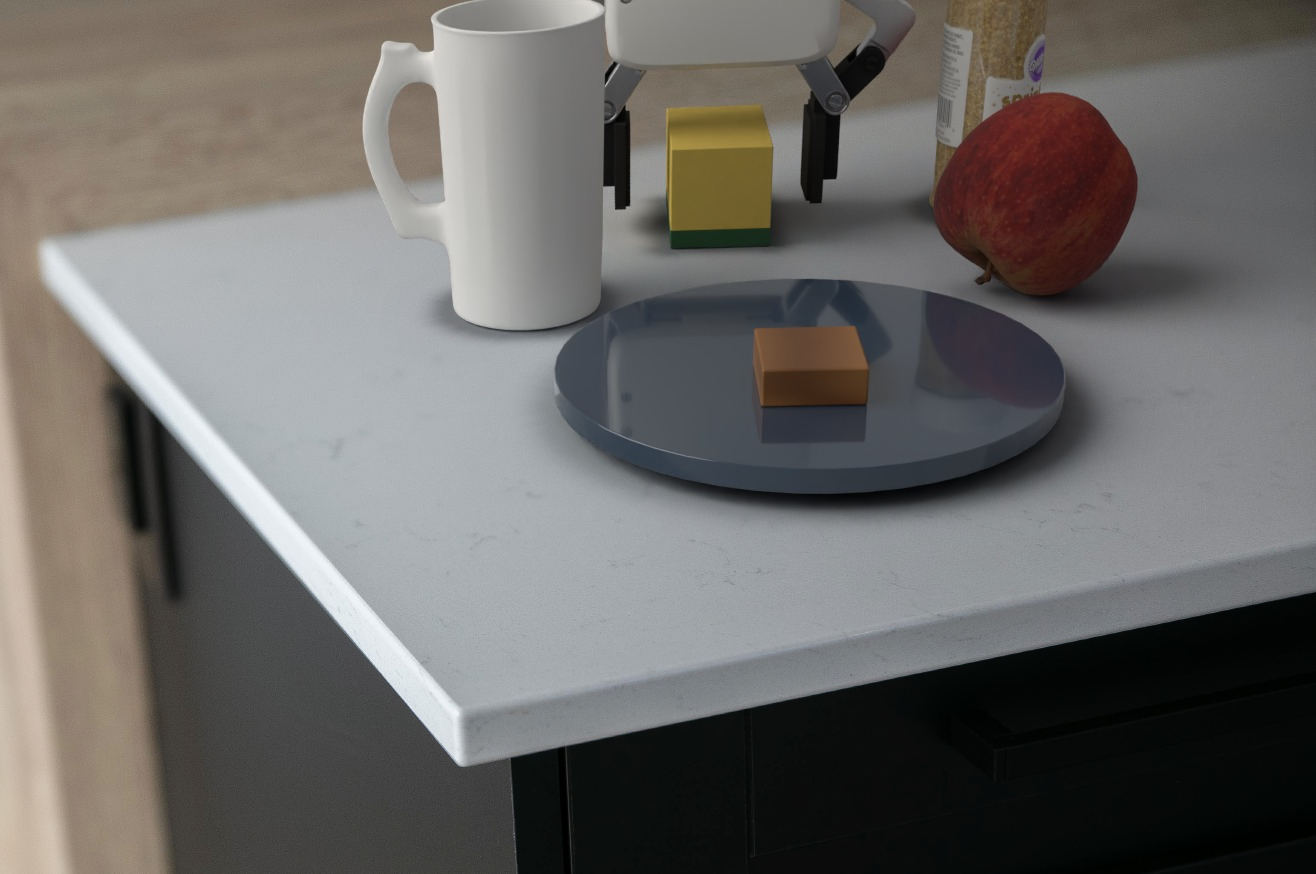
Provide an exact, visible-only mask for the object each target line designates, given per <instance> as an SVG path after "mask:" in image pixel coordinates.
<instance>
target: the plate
mask: <svg viewBox="0 0 1316 874" xmlns="http://www.w3.org/2000/svg"><path fill="white" fill-rule="evenodd" d="M833 326H855V327H856V328H857V331H858V335H859V338H860V341H861V344H862V347H863V350H864V353H865V356H866V359H867V362H868V365H869V368H870V373H869V388H868V402H867V404H866V405H828V406H775V407H763V406H761V403H760V398H759V392H758V387H757V381H756V376H755V370H754V365H753V348H754V330H755V329H756V328H791V327H833ZM553 388H554V389H553V390H554V391H553V392H554V399H555V404H556V406H557V408H558V411H559V412H560V415H561V417H562V418H563V420H565V421H566V423H567V424H568V426H569V427H570V428H571V429H572V430H574V431H575V433H577V434H578V435H579V436H580V437H582V438H583V439H584V440H585V441H587V442H589V443H591V444H592V445H593V446H595V447H596V448H598V449H600V450H602V451H604V452H605V453H607V454H610V455H612V456H614V457H616V458H617V459H619V460H620V459H621V460H622V461H624V462H627V463H629V464H632V465H635V466H638V467H640V468H644V469H646V470H649V471H653V472H655V473H659V474H664V475H667V476H670V477H674V478H678V479H681V480H685V481H691V482H696V483H700V484H706V485H711V486H716V487H723V488H731V489H739V490H745V491H754V492H767V493H782V494H815V495H816V494H817V495H818V494H820V495H830V494H833V495H834V494H855V493H857V494H858V493H870V492H871V493H872V492H880V491H881V492H882V491H891V490H901V489H906V488H912V487H913V488H914V487H918V486H925V485H931V484H936V483H940V482H945V481H948V480H952V479H953V480H954V479H956V478H961V477H965V476H968V475H971V474H973V473H977V472H980V471H984V470H985V469H989V468H992V467H994V466H997V465H999V464H1002V463H1003V462H1006V461H1008V460H1011V459H1012V458H1015V457H1017V456H1018V455H1020V454H1022V453H1023V452H1025V451H1026V450H1028V449H1029V448H1032V447H1033V446H1035V445H1036V444H1037V443H1038V442H1039V441H1040V440H1041V439H1043V438H1044V437H1045V436H1046V435H1047V434H1048V433H1049V432H1050V431H1051V430H1052V428H1053V427H1054V425H1055V424H1056V423H1057V421H1058V420H1059V418H1060V415H1061V412H1062V409H1063V406H1064V400H1065V393H1066V392H1065V391H1066V370H1065V367H1064V365H1063V362H1062V359H1061V357H1060V356H1059V354H1058V352H1056V350H1055V348H1054V347H1053V346H1052V345H1051V344H1050V343H1049V342H1048V341H1046V339H1044V338H1043V337H1042V336H1041V335H1040V334H1039V333H1037V332H1036V331H1034V330H1032V329H1031V328H1030V327H1027V325H1025V324H1023V323H1022V322H1019V321H1017V320H1016V319H1013V317H1012V318H1011V317H1009V316H1007V315H1005V314H1003V313H1001V312H998V311H996V310H994V309H991V308H988V307H986V306H984V305H981V304H978V303H975V302H971V301H968V300H964V299H961V298H958V297H956V296H950V295H947V294H942V293H937V292H933V291H930V290H929V291H928V290H924V289H919V288H913V287H908V286H902V285H895V284H889V283H880V282H879V283H878V282H873V281H861V280H849V279H833V278H832V279H831V278H829V279H828V278H771V279H752V280H741V281H731V282H722V283H714V284H709V285H708V284H707V285H702V286H696V287H695V286H694V287H690V288H685V289H680V290H675V291H670V292H666V293H662V294H658V295H654V296H651V297H647V298H644V299H641V300H637V301H635V302H631V303H628V304H626V305H623V306H620V307H619V308H616V309H613V310H612V311H609V312H607V313H604V314H603V315H601V316H599V317H598V318H595V319H594V320H592V321H590V322H589V323H587V324H586V325H584V326H583V327H581V328H580V329H579V330H577V331H576V332H574V333H573V334H572V335H571V336H570V338H569V339H568V340H567V341H566V342H565V343H564V344H563V345H562V347H561V348H560V350H559V352H558V354H557V355H556V358H555V362H554V367H553Z"/></svg>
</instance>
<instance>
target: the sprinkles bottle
mask: <svg viewBox="0 0 1316 874" xmlns="http://www.w3.org/2000/svg"><path fill="white" fill-rule="evenodd" d="M1048 6H1049V0H947V8H946V14H945V15H946V17H945V20H944V22H943V35H942V47H941V61H940V72H939V73H940V74H939V86H938V95H937V96H938V97H937V109H936V121H935V135H934V136H935V138H936V146H935V147H936V148H935V163H934V171H933V174H934V175H933V183H932V184H933V185H932V189H931V191H930V194H929V197H928V201H929V205H930V207H932V208H933V205H934V196H935V191H936V187H937V184H938V182H939V179H940V177H941V175H942V173H943V171H944V169H945V168H946V166H947V164H948V163H949V161H950V159H951V158H952V156H953V154H954V153H955V151H956V149H957V148H958V146H959V145H960V144H961V143H962V141H963V140H964V139H965V138H966V137H967V135H968V134H969V133H970V132H972V131H973V130H974V129H975V128H976V127H977V126H978V125H979V124H980V123H982V122H983V121H984V120H985V119H987V118H988V117H990V116H991V115H992V114H994V113H996V112H997V111H999V110H1000V109H1002V108H1004V107H1005V106H1007V105H1009V104H1011V103H1013V102H1015V101H1018V100H1021V99H1023V98H1026V97H1029V96H1032V95H1036V94H1041V88H1042V79H1043V68H1044V59H1045V49H1046V25H1047V15H1048Z"/></svg>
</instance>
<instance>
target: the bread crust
mask: <svg viewBox="0 0 1316 874" xmlns="http://www.w3.org/2000/svg"><path fill="white" fill-rule="evenodd" d="M753 365H754V370H755V376H756V381H757V387H758V392H759V398H760V403H761V406H763V407H775V406H828V405H866V404H867V402H868V388H869V373H870V368H869V365H868V362H867V359H866V356H865V353H864V350H863V347H862V344H861V341H860V338H859V335H858V331H857V328H856V327H855V326H833V327H791V328H756V329H755V330H754V348H753Z"/></svg>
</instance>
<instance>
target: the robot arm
mask: <svg viewBox="0 0 1316 874" xmlns="http://www.w3.org/2000/svg"><path fill="white" fill-rule="evenodd" d="M592 1H595V2H598V3H600V4H601V5H603V6H604V7H605V10H606V12H605V14H604V33H605V36H606V46H607V50H608V55H609V57H610V58H611V59H612V60H611V61H610V63H609V64H608V66H607V67H606V68H605V91H604V158H603V188H606V187H607V188H609V187H614V210H615V211H617V210H618V211H619V210H620V211H623V210H627V207H631V111H630V110H627V105H626V104H627V102H628V101H629V99H630V98H631V96H632V94H633V93H634V92H635V90H636V89H637V87H638V85H639V84H640V82H641V80H642V79H643V77H644V76H645V74H646V73H647V72H649V71H651V72H652V71H654V72H655V71H657V72H658V71H659V72H660V71H662V72H663V71H690V70H691V71H692V70H716V69H717V70H721V69H741V68H742V69H743V68H744V69H745V68H746V69H747V68H766V67H767V68H769V67H784V66H786V67H787V66H795V67H796V68H797V70H798V71H799V73H800V75H801V76H802V78H803V79H804V81H805V83H806V84H807V85H808V87H809V89H810V91H809V93H810V94H809V98H808V99H807V103H804V104H803V111H802V112H803V115H802V131H801V132H802V133H801V134H802V135H801V153H800V155H801V156H800V175H799V176H800V177H799V180H800V181H799V182H800V188H801V191H802V194H803V198H804V201H805V202H809V205H816V204H817V205H819V204H821V205H822V204H823V195H824V181H827V180H828V181H829V180H830V181H831V180H837V178H838V170H839V169H838V168H839V154H840V153H839V151H840V133H841V119H842V118H841V117H842V116H841V115H842V114H844V113H845V112H846V111H847V110H848V108H849V107H850V103H851V102H852V101H853V100H854V99H855V98H856V97H857V96H858V95H859V94H860V93H862V91H863V90H864V89H865V88H867V86H869V84H871V82H872V81H873V80H875V79H876V78H877V77H878V76H879V75H880V74H881V73H882V72H883V70H884V69H885V66H886V63H887V62H888V60H889V59H890V57H892V55H894V53H895V52H896V51H897V50H898V48H899V46H900V45H901V43H902V42H904V39H905V38H906V37H907V36H908V34H909V33H910V32H911V30H912V28H913V27H914V26H915V24H916V22H917V14H916V11H915V9H914V8H913V7H912V5H911V4H910V3H909V2H907V1H906V0H844V1H845V2H847V3H848V4H850V5H851V6H853V7H854V8H856V9H857V10H859V11H860V12H862V13H863V14H865V15H867V16H868V17H870V18H871V19H872V25H871V27H870V29H869V30H868V32H867V34H866V35H865V37H864V39H863V40H862V41H861V42H860V43H858V44H857V45H856V46H855V47H854V48H853V49H852V50H851V51H850V52H849V53H848V54H847V55H846V56H845V57H844V58H843V59H842V60H841V61H840V62H839V63H838V64H837V65H835V66H834V64H833V63H832V61H831V60H830V58H829V56H828V54H830V53H831V52H832V51H833V50H834V48H835V47H836V44H837V41H838V37H839V31H840V25H841V7H842V0H592Z"/></svg>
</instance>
